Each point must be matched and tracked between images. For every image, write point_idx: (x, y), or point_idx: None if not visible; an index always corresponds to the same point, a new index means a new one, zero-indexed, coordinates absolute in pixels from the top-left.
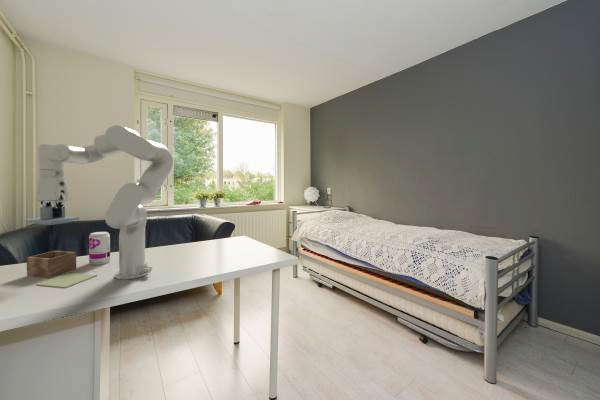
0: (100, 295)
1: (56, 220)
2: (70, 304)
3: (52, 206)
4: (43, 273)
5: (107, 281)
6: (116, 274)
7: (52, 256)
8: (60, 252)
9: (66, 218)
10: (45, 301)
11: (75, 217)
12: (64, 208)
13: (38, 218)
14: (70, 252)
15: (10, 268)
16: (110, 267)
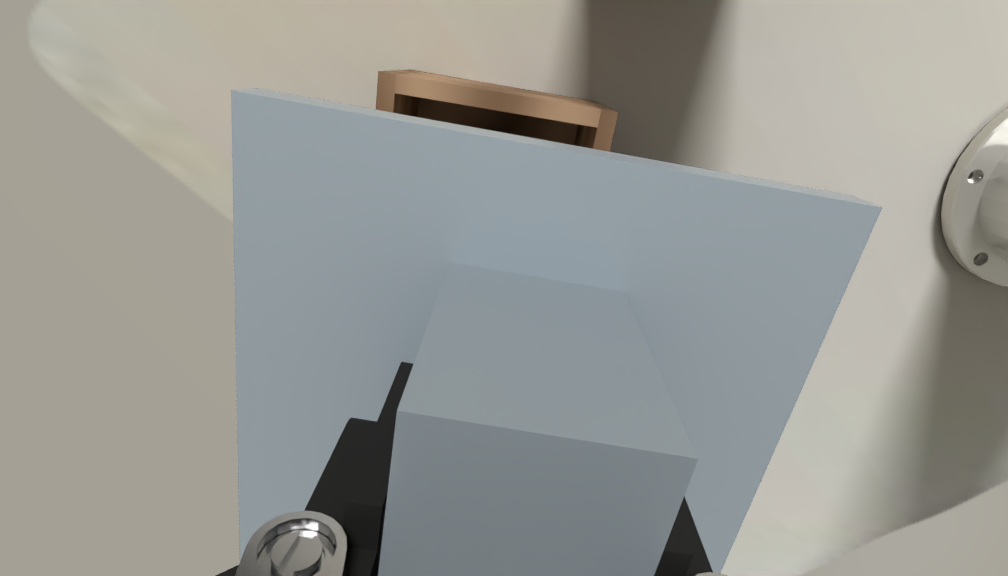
0: (959, 461)
1: (717, 571)
2: (874, 529)
3: (398, 568)
4: None
5: (922, 306)
6: (967, 247)
7: (402, 109)
8: (463, 104)
9: (745, 410)
10: (758, 510)
11: (828, 265)
12: (670, 420)
13: (282, 451)
14: (573, 123)
15: (122, 107)
16: (824, 34)
